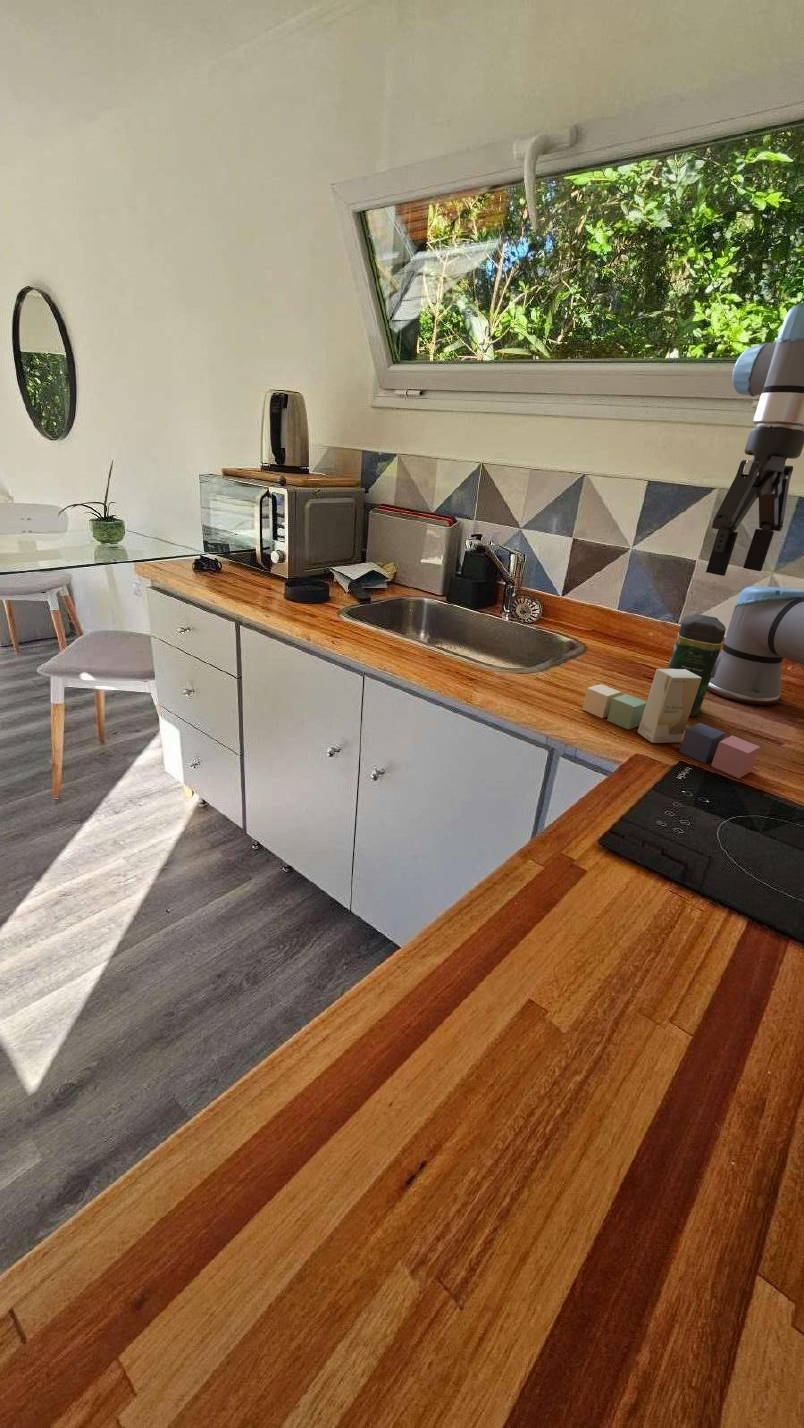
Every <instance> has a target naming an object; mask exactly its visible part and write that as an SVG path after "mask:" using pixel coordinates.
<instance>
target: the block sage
mask: <svg viewBox="0 0 804 1428" xmlns="http://www.w3.org/2000/svg"><path fill="white" fill-rule="evenodd" d="M646 703H647V700H646V701H645V700H643V699H641V698H637V697H636V696H633V695H631V694H628V693H624V694H621V695H620V696H618V697H615V698H613V699H612V703H611V707H610V711H609V715H608V716H607V719H606V721H608V722H609V723H612V724H614V725H615V726H616V725H617V726H619V727H621V728H623V729H625V730H628V731H629V730H632V729H634V728H637V727H639V726H640V722H641V719H642V716H643V713H644V709H645V706H646Z"/></svg>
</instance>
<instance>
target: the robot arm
mask: <svg viewBox="0 0 804 1428" xmlns="http://www.w3.org/2000/svg"><path fill="white" fill-rule="evenodd" d="M731 381H732V386H733V389H734V391H735V392H736V393H737V394H739V395H742V396H750V397H756V396H760V397H759V400H758V403H757V407H756V410H755V413H754V416H753V419H752V424H754V425H755V427H753V428H752V429H750V430H749V434H748V437H747V440H746V444H745V446H744V447H745V448H744V454H745V455H747V456H753V458H752V460H750V459H749V460H748V459H742V460H741V461H740V463H739V466H738V468H737V471H736V472H737V473H736V474H735V476H734V478H733V481H732V483H731V484H730V487H729V488H728V490H727V492H726V494H725V496H724V498H723V500H722V502H721V504H720V506H719V508H718V510H717V511H716V514H715V515H714V518H713V520H712V525H711V528H712V529H714V530H717V533H716V536H715V539H714V543H713V546H712V550H711V553H710V555H709V556H710V557H709V560H708V563H707V566H706V570H705V573H707V574H712V575H717V576H721V577H725V576H726V573H727V570H728V567H729V564H730V560H731V558H732V554H733V551H734V549H735V548H734V547H735V545H736V541H737V538H738V535H739V532H737V531H736V530H737V529H738V527H739V526H740V525H741V523H742V521H743V520H744V518H745V516H746V515H747V514H748V512H749V511H750V509H751V508H752V506H753V505H754V503H755V502H756V500H757V499H758V528H755V529H754V532H753V536H752V538H751V542H750V545H749V548H748V551H747V553H746V557H745V561H744V564H743V569H745V570H750V571H755V572H762V570H763V567H764V564H765V561H766V558H767V555H768V553H769V550H770V546H771V543H772V541H773V537H774V534H775V532H781V531H782V529H783V528H784V525H783V524H784V522H785V516H786V508H787V500H788V494H789V488H790V481H791V477H792V475H793V472H794V466H793V465H786V461H787V460H788V459H790V460H795V459H798V458H799V457H801V455H802V452H803V448H804V302H802V303H798V304H795V305H794V306H792V307H791V308H789V310H788V311H787V312H786V314H785V317H784V319H783V322H782V326H781V327H780V330H779V333H778V335H777V337H776V339H775V342H765V343H762V344H759V345H758V344H757V345H754V346H751V347H748V348H747V349H745V350H744V351H743V352H742V353H741V354H740V355H739V356H738V358H737V359H736V361H735V364H734V366H733V369H732V374H731ZM784 659H786V660H789V661H791V662H794V663H796V664H799V665H802V666H804V589H798V588H789V587H778V586H764V585H763V586H762V585H761V586H760V585H759V586H758V585H757V586H756V585H755V586H747V587H745V588H744V589H742V590H741V592H740V594H739V596H738V598H737V602H736V603H735V604H734V609H733V611H732V615H731V619H730V622H729V625H728V628H727V631H726V634H725V637H724V640H723V643H722V646H721V649H720V652H719V655H718V658H717V661H716V665H715V668H714V670H713V673H712V676H711V679H710V682H709V685H708V687H707V690H706V691H709V692H711V693H712V694H715V695H717V696H719V697H722V698H725V699H728V700H731V701H735V702H740V703H743V704H748V705H756V706H757V705H759V706H769V705H771V706H772V705H774V704H775V705H776V704H777V703H778V702H779V700H780V697H781V695H782V664H783V662H784Z"/></svg>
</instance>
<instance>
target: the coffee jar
mask: <svg viewBox="0 0 804 1428" xmlns="http://www.w3.org/2000/svg"><path fill="white" fill-rule="evenodd" d="M678 629H679V630H678V632H677V636H676V638H675V642H674V646H673V649H672V652H671V656H670V659H669V663H668V667H667V669H686V670H688V671H690V672H692V673H694V674H696V675H698V676H699V677H701V678H702V679H701V682H700V685H699V688H698V691H697V694H696V697H695V700H694V703H693V706H692V709H691V712H690V715H689V717H695V716H697V715H698V714H699V712H700V710H701V708H702V705H703V702H704V700H705V696H706V693H707V691H708V690H707V687H708V685H709V682H710V679H711V676H712V673H713V670H714V668H715V665H716V661H717V658H718V655H719V654H720V652H721V650H722V646H723V643H724V640H725V636H726V632H727V631H726V630H727V629H726V626H725V624H724V623H723V622H722V621H720V620H719V618H717V617H716V616H710V615H705V614H700V613H695V614H693V615H690V616H687V617H685V618H683V620H682V621H681V623H680V627H679V628H678Z"/></svg>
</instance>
